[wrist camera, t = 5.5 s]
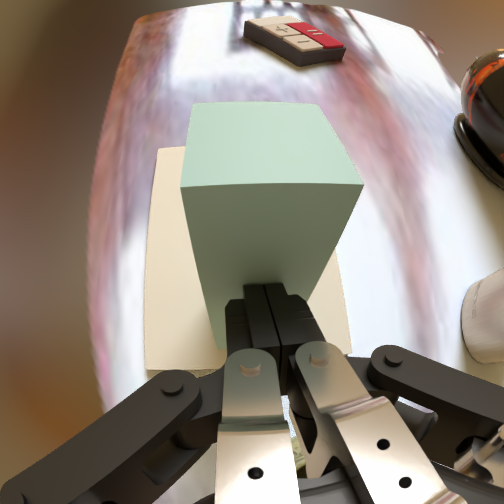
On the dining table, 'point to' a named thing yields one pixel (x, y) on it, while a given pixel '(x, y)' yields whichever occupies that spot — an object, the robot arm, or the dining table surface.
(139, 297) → the dining table surface
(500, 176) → the amphora vase
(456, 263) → the dining table surface
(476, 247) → the dining table surface
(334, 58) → the calculator
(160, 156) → the mat
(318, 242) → the block
